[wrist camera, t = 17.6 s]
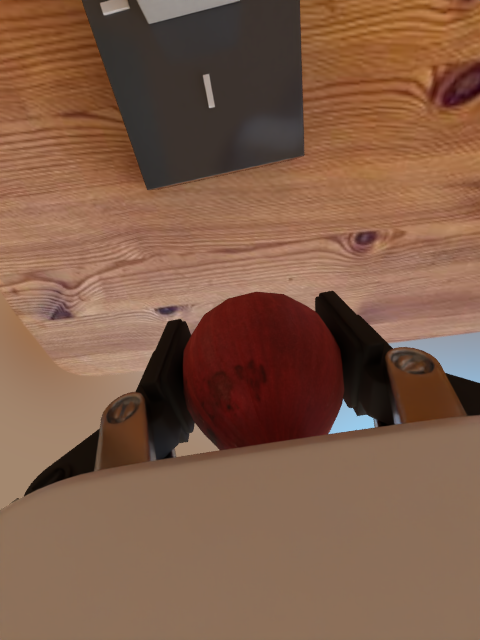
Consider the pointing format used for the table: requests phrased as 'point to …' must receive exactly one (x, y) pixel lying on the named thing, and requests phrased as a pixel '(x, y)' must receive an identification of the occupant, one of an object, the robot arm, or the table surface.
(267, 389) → the onion
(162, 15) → the knob
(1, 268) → the table surface
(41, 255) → the table surface
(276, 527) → the robot arm
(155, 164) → the dial base
